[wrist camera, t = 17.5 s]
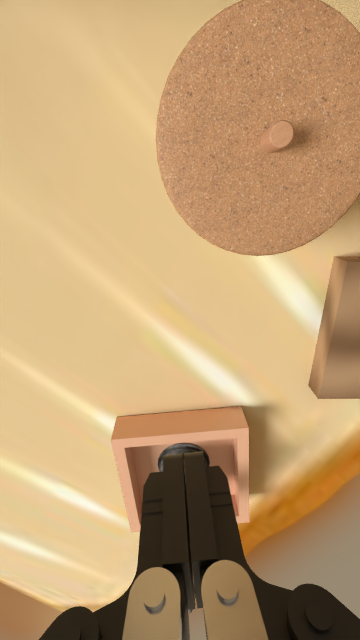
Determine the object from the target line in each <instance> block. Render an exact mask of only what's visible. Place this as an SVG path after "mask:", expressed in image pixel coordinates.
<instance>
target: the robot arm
mask: <svg viewBox="0 0 360 640" xmlns="http://www.w3.org/2000/svg"><path fill="white" fill-rule="evenodd" d="M184 461H185V470H184ZM184 461H183V454H174V455H164V456H163V471H162V472H153V473H150V474H149V476H148V478H147V480H146V482H145V484H144V487H143V500H142V501H143V504H142V517H141V527H140V540H139V554H138V566H137V571H136V575H135V577H134V580H133V582H132V584H131V585H130V587H129V588H128V590H127V591H126V592H125V593H124V594H123V595H122V596H121V597H120V598H119V599H117V600H115V601H114V602H112V603H110V604H108V605H106V606H104V607H103V608H101V609H99V610H97V611H95V612H93V613H92V611H90V610H89V609H87V608H85V607H81V606H80V607H73V608H70V609H68V610H66V611H65V612H63V613H62V614H61V615H59V616H58V617H57V618H56V619H55V620H54V622H53V623H52V624H51V625H50V626H49V628H48V629H47V630H46V631H45V633H44V634H43V635H42V637H41V638H40V639H39V640H190V636H189V635H190V634H189V616H188V610H189V609H195V597H194V585H195V592H196V600H197V607H198V608H203V611H204V620H205V628H206V637H207V640H360V619H359V618H358V617H357V616H356V615H354V614H353V613H352V612H351V611H350V610H349V609H347V607H345V606H344V605H343V604H342V603H341V602H340V601H339V600H338V599H336V598H335V597H334V596H333V595H332V594H331V593H329V592H328V591H327V590H325V589H324V588H322V587H320V586H317V585H314V584H303V585H300V586H298V587H297V588H295V589H294V590H293V591H292V590H288V589H285V588H281V587H278V586H275V585H271V584H269V583H267V582H265V581H263V580H262V579H260V578H259V577H258V576H257V575H255V573H254V572H253V571H252V570H251V569H250V567H249V565H248V564H247V562H246V559H245V557H244V553H243V549H242V544H241V539H240V535H239V530H238V525H237V521H236V516H235V511H234V507H233V502H232V497H231V493H230V488H229V483H228V479H227V476H226V475H225V473H224V472H223V471H222V469H221V468H220V466H209V467H205V462H204V455H203V451H202V452H192V453H184ZM185 475H186V478H185ZM193 577H194V583H193Z"/></svg>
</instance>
